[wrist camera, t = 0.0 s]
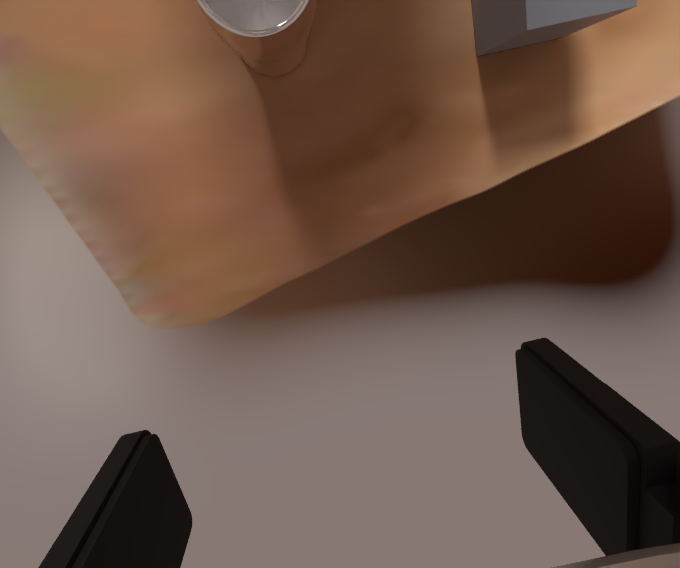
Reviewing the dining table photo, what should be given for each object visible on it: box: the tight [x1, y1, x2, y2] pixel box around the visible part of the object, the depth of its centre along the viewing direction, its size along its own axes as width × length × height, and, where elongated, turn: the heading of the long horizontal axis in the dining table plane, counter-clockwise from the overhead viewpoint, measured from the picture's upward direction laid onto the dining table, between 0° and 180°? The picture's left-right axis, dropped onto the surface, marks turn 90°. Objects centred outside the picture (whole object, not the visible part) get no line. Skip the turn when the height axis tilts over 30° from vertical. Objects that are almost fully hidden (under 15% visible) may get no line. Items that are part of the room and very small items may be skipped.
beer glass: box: [197, 0, 317, 76], centre depth 28 cm, size 7×7×15 cm
